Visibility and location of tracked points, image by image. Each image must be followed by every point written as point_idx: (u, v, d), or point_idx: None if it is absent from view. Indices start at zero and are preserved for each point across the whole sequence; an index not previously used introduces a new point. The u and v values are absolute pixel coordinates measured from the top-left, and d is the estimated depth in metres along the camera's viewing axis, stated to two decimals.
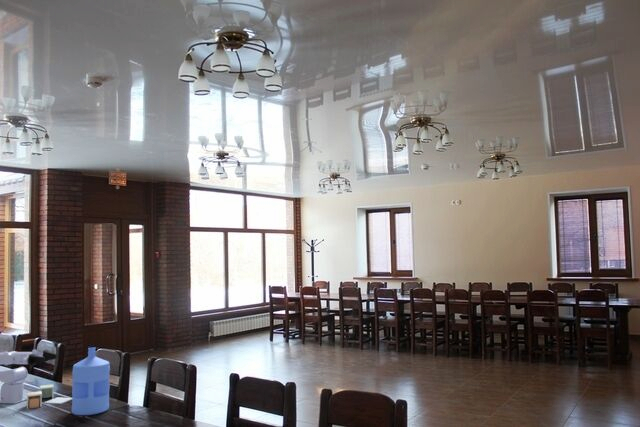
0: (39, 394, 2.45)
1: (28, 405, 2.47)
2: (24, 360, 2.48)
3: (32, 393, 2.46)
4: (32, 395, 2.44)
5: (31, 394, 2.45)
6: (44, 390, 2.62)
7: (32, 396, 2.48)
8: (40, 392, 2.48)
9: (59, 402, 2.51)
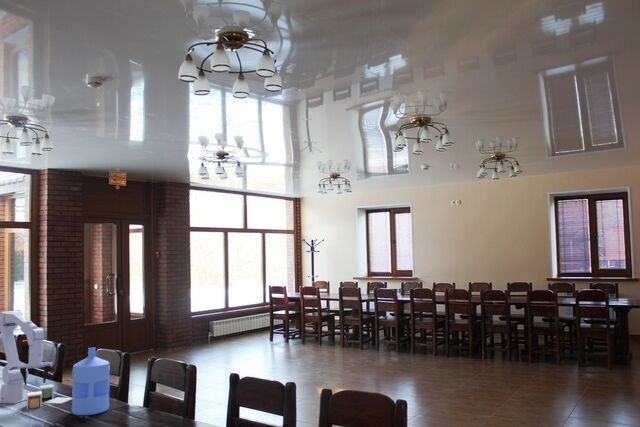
0: (39, 394, 2.45)
1: (28, 405, 2.47)
2: (17, 368, 2.44)
3: (32, 393, 2.46)
4: (32, 395, 2.44)
5: (31, 394, 2.45)
6: (44, 390, 2.62)
7: (32, 396, 2.48)
8: (40, 392, 2.48)
9: (59, 402, 2.51)
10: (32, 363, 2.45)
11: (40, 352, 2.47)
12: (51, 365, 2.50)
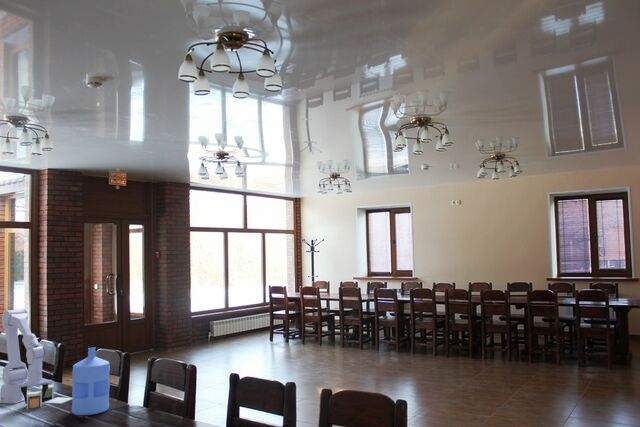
0: (39, 394, 2.45)
1: (28, 405, 2.47)
2: (16, 386, 2.43)
3: (32, 393, 2.46)
4: (32, 395, 2.44)
5: (31, 394, 2.45)
6: None
7: (32, 396, 2.48)
8: (40, 392, 2.48)
9: (59, 402, 2.51)
10: (31, 382, 2.44)
11: (39, 370, 2.47)
12: (50, 383, 2.49)
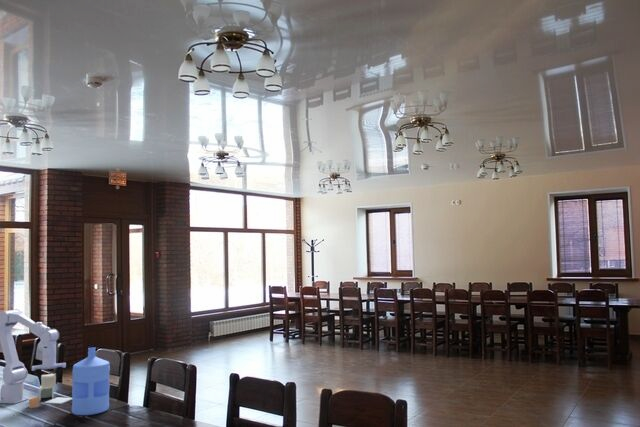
0: (53, 376, 2.50)
1: (42, 387, 2.52)
2: None
3: (46, 375, 2.52)
4: (46, 377, 2.49)
5: (45, 376, 2.50)
6: (44, 390, 2.62)
7: (46, 378, 2.53)
8: (54, 374, 2.53)
9: (59, 402, 2.51)
10: (46, 364, 2.50)
11: (55, 353, 2.53)
12: (64, 366, 2.54)
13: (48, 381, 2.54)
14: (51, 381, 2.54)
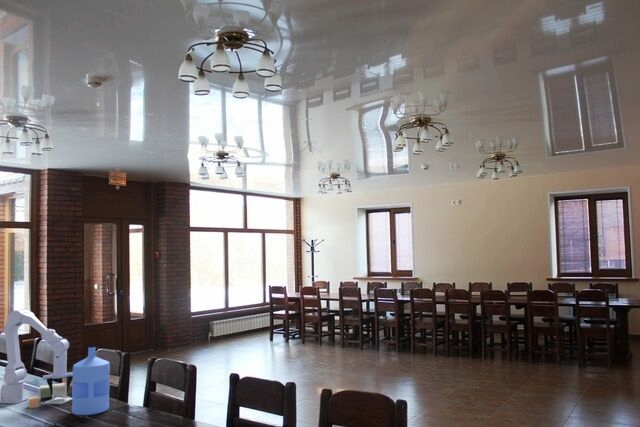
0: (64, 386, 2.54)
1: (53, 396, 2.56)
2: None
3: (57, 385, 2.55)
4: (57, 386, 2.52)
5: (56, 385, 2.53)
6: (44, 390, 2.62)
7: (57, 388, 2.57)
8: (65, 384, 2.57)
9: (59, 402, 2.51)
10: (57, 374, 2.53)
11: (66, 362, 2.57)
12: None
13: (59, 390, 2.57)
14: (62, 390, 2.58)
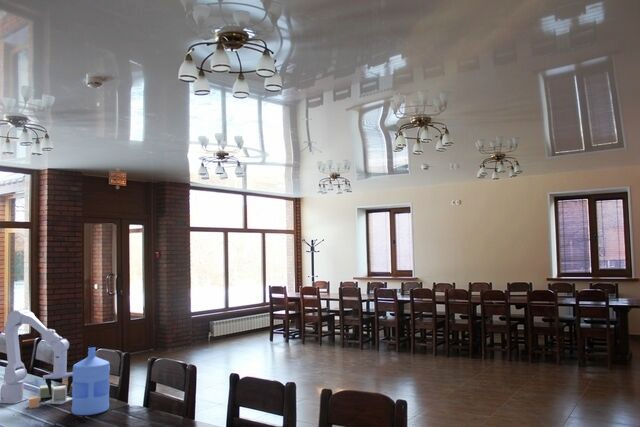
0: (64, 388, 2.54)
1: (53, 399, 2.56)
2: None
3: (57, 387, 2.55)
4: (57, 389, 2.52)
5: (56, 388, 2.53)
6: (44, 390, 2.62)
7: (57, 390, 2.57)
8: (65, 386, 2.57)
9: (59, 402, 2.51)
10: (57, 374, 2.53)
11: (66, 362, 2.57)
12: None
13: (59, 393, 2.57)
14: (61, 393, 2.58)
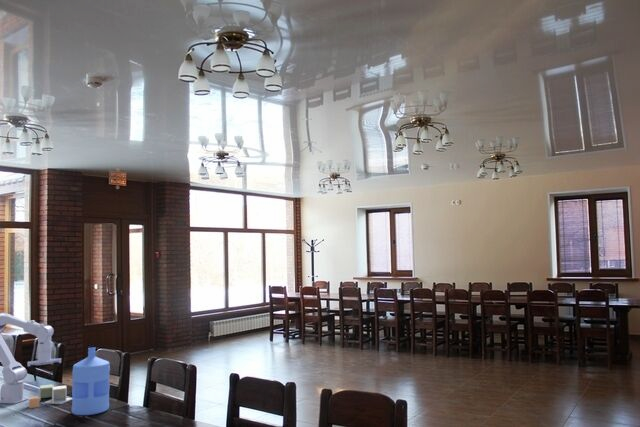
0: (64, 388, 2.54)
1: (53, 399, 2.56)
2: None
3: (57, 387, 2.55)
4: (57, 389, 2.52)
5: (56, 388, 2.53)
6: (44, 390, 2.62)
7: (57, 390, 2.57)
8: (65, 386, 2.57)
9: (59, 402, 2.51)
10: (41, 360, 2.53)
11: (50, 348, 2.57)
12: (60, 361, 2.58)
13: (59, 393, 2.57)
14: (61, 393, 2.58)
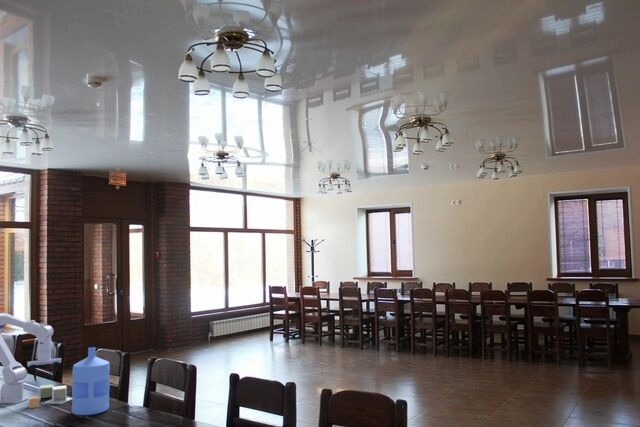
0: (64, 388, 2.54)
1: (53, 399, 2.56)
2: (27, 364, 2.52)
3: (57, 387, 2.55)
4: (57, 389, 2.52)
5: (56, 388, 2.53)
6: (44, 390, 2.62)
7: (57, 390, 2.57)
8: (65, 386, 2.57)
9: (59, 402, 2.51)
10: (41, 360, 2.53)
11: (50, 348, 2.57)
12: (60, 361, 2.58)
13: (59, 393, 2.57)
14: (61, 393, 2.58)
